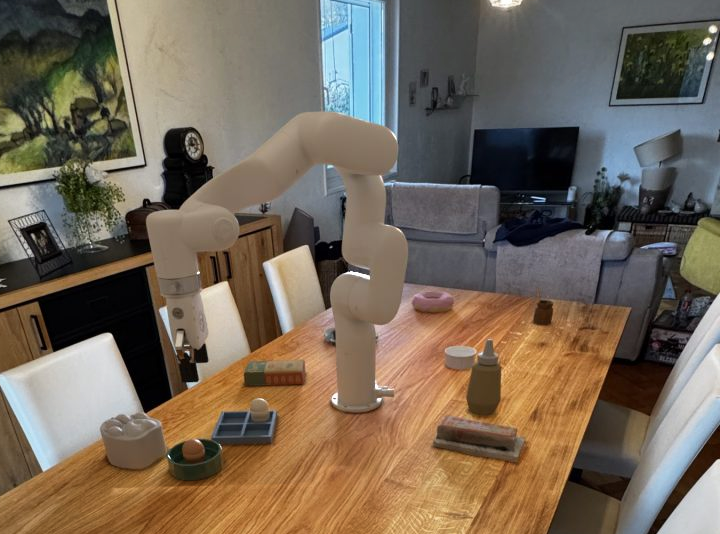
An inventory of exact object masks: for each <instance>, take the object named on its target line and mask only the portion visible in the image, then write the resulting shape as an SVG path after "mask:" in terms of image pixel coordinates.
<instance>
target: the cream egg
mask: <svg viewBox="0 0 720 534" xmlns="http://www.w3.org/2000/svg"><path fill="white" fill-rule="evenodd" d="M269 406H270V405H269V403H268V401H267V400H266V399H263V398H262V397H261V398H259V397H257V398H255V399H253V400H252V401H251V402H250V404H249V411H250V413H251V418H252V420H253V421H254V422H255V423H259V422H267V421H268V419H269V416H270V413H269V410H270V407H269Z"/></svg>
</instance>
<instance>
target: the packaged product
mask: <svg viewBox="0 0 720 534" xmlns="http://www.w3.org/2000/svg"><path fill="white" fill-rule="evenodd" d="M517 434H518V428H517V427H513V426H512V427H511V426H507V425H503V424H501V425H500V424H498V423H492V422H486V421H481V420H475V419H470V418H465V417H461V416H460V417H459V416H454V415H445V416H444V417H443V419H442V420H441V421H440V423H439V424H438V425H437V428H436V436H435V437H434V439H433V441H432V446H433V448H439V449H440V448H441V449H446V450H451V451H455V452H459V453H463V454H467V455H471V456H476V457H485V458H490V459H496V460H499V461H500V460H501V461H505V462H510V463H515V464H516V463H517V461H518V459H519V458H520V454H521V452H522V450H523V448H524V445H525V441H526V436H519V435H517Z"/></svg>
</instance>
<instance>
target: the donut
mask: <svg viewBox="0 0 720 534" xmlns="http://www.w3.org/2000/svg"><path fill="white" fill-rule="evenodd" d="M410 304H411V305H412V307H413V308H414V309H415V310H417V311H419V312H422V313H429V314H437V313H445V312H447V311H449V310H450V309H451V308H453V307H454V305H455V301H454V296H453V295H451V294H450V293H448V292H444V291H439V290H433V291H432V290H431V291H429V290H428V291H421V292H418V293H416V294H415V295H413V296H412V299H411V303H410Z"/></svg>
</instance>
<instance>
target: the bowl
mask: <svg viewBox="0 0 720 534" xmlns="http://www.w3.org/2000/svg"><path fill="white" fill-rule="evenodd" d="M196 439H197V440H199V441H200V442H201V443H202V444H203V446H204V450H205V456H206V458H205V462H202V463H197V464H186V463H185V461H184V457H183V452H182V447H183V445H184V443H185V442H186V441H187V440H183V441H181V442H179V443H175V444H174V445H173V446H172V447H170V448H169V449H168V450H167V453H166V454H165V457H166V461H167V465H168V469H169V473H170V475H171V476H172V477H174V478H175V479H178V480H182V481H198V480H203V479H207V478H210V477H212V476H214V475H217V473H218V472H220V471H221V470H222V469H223V467H224V464H225V460H224V454H223V448H222V446H221V444H219V443H217V442H216V441H214V440H211V439H208V438H196Z"/></svg>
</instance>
